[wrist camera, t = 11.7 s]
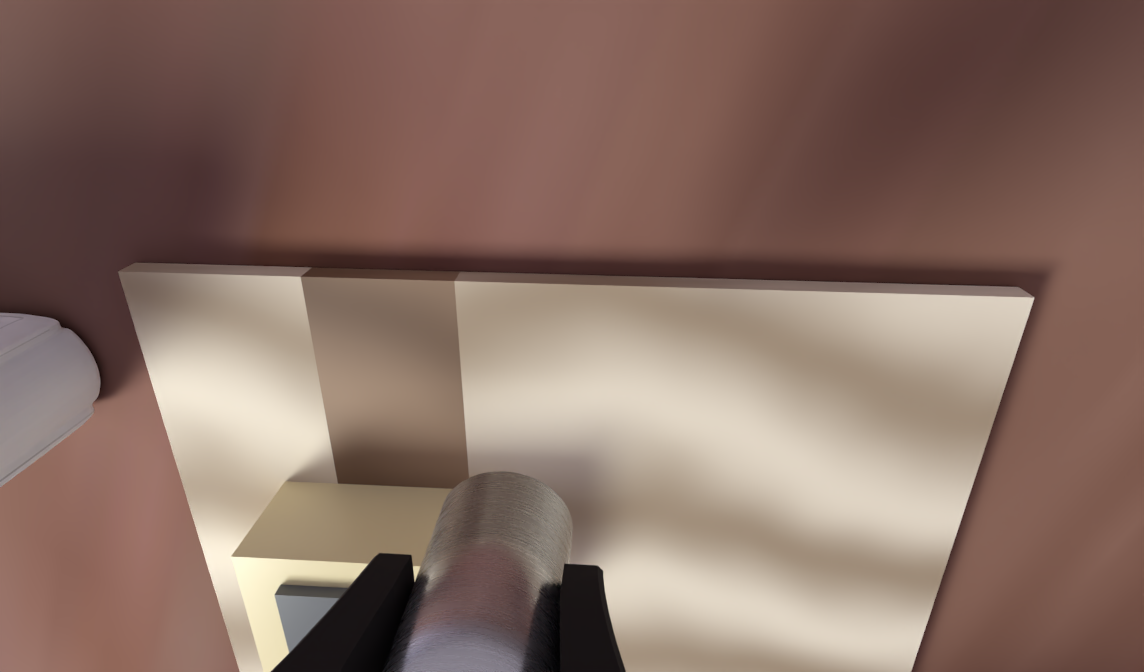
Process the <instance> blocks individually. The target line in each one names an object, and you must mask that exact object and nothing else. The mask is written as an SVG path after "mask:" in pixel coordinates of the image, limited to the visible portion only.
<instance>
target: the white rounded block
mask: <svg viewBox="0 0 1144 672" xmlns="http://www.w3.org/2000/svg"><path fill="white" fill-rule="evenodd" d="M100 385H101V383H100V375H99V370H98V367H97V364H96V362H95V360H94V357H93V356H92V354H91V352H90V350H89V349H88V347H87V346H86V345H85V344H84V342H83V341H82V340H81V339H80V338H79V337H78V336H77V335H76V334H75V333H74V332H73V331H72V330H70V329H68V328H62V327H61V326H60V324H59V322H58V321H57V320H55V319H52V318H48V317H42V316H35V315H28V314H19V313H0V487H1V486H3V485H4V484H5V483H7V482H8V481H9V480H11V479H12V478H13V477H15V476H16V475H17V474H19V473H20V472H21V471H23V470H24V469H25V468H27V467H28V466H29V465H31V464H32V463H34V462H35V461H36V460H37V459H39V458H40V457H41V456H43V455H44V454H46V453H47V452H48V451H49V450H51V449H52V448H53V447H55V446H56V445H57V444H58V443H60V442H61V441H62V440H64V439H65V438H66V437H68V436H69V435H70V434H72V433H73V432H74V431H76V430H77V429H78V428H79V427H81V426H82V425H83V424H84V423H85V422H86V421H87V420H88V419H89V418H90V417H91V416H92V415H93V413H94V408H93V406H92V403H93V402H94V401H95V400H96V399H97V397H98V395H99V392H100Z"/></svg>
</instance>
